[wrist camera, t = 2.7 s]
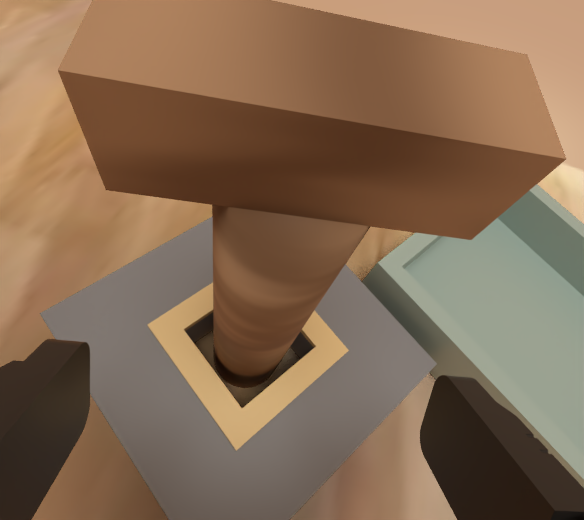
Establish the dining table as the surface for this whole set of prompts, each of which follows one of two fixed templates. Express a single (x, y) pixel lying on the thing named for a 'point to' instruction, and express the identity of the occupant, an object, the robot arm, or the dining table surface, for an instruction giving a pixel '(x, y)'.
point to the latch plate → (216, 397)
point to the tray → (503, 314)
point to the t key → (300, 142)
